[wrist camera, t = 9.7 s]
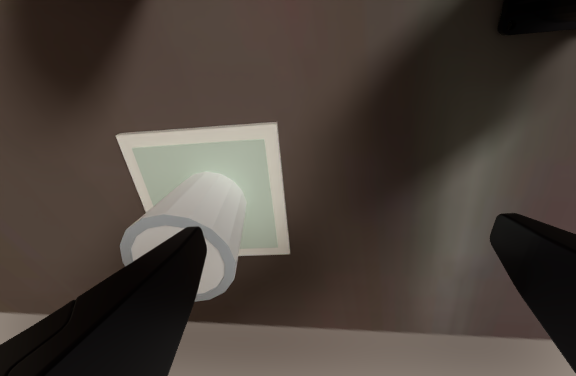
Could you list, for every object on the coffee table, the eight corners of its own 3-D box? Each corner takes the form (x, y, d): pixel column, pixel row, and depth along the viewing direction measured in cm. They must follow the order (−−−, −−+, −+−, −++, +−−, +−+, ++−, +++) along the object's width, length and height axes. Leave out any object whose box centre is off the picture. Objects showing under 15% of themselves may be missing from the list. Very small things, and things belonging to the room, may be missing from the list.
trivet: (277, 121, 19) (276, 124, 19) (290, 249, 25) (289, 255, 24) (120, 133, 20) (114, 136, 19) (167, 254, 26) (163, 259, 25)
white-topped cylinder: (265, 181, 21) (250, 239, 14) (241, 245, 24) (220, 315, 18) (178, 151, 20) (122, 198, 14) (165, 221, 23) (115, 286, 17)
